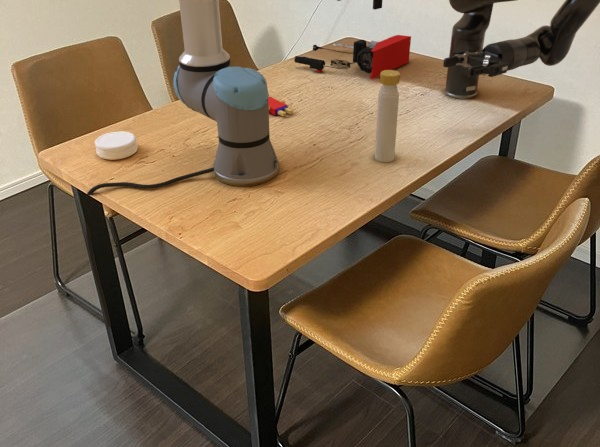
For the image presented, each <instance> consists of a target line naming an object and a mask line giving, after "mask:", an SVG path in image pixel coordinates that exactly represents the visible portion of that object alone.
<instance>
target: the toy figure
mask: <svg viewBox="0 0 600 447" xmlns="http://www.w3.org/2000/svg"><path fill="white" fill-rule="evenodd" d="M268 104H269V114H271V115H273V116H281V117H286V116H287V114H288V115H291V114H294V109H292V108H289V106H288V104H287V103H286V101H285V100H281V99H280V100H278V99H276V98H274V97H272V96H269V97H268Z"/></svg>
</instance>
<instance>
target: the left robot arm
mask: <svg viewBox="0 0 600 447" xmlns="http://www.w3.org/2000/svg"><path fill="white" fill-rule="evenodd" d="M336 1H337V2H340V1H341V0H336ZM178 3H179V12H180V20H181V30H182V31H181V32H182V38H183V47H184V51H183V52H182V53H181V54H180V56H179V57H178V62H179V63H178V64H179V65H178V66H177V69H176V70H175V72H174V73H173V74H174V75H173V90H174V92H175V95H176V97H177V98H178V100H179V101H180V102H181V103H182V104H183V105H185V106H186V107H187V108H188V109H190V110H191V111H193V112H196V113H199V114H200V115H202V116H204V117H206V118H209V119H210V120H212V121H215V122H216V126H217V135H218V145H217V149H216V153H215V159H214V162H213V164H212V167H210V168H206V169H202V170H198V171H195V172H191V173H187V174H184V175H181V176H177V177H175V178H174V177H173V178H171V179H168V180H166V181H162V182H158V183H152V184H142V183H136V182H129V181H119V182H103V183H99V184H96V185H94V186H92V187H91V188H90V189H89V190H88V191H87V192H86V196H92V195H93V194H94V193H95V192H96V191H98V190H100V189H103V188H118V187H119V188H120V187H130V188H135V189H142V190H143V189H144V190H150V189H158V188H162V187H165V186H169V185H172V184H174V183H178V182H181V181H185V180H188V179H190V178H194V177H198V176H202V175H205V174H209V173H210V174H211V173H213V176H214V177H215V179H217V181H219V182H220V183H223V184H225V185H228V186H229V185H230V186H234V187H251V186H252V187H253V186H257V185H261V184H265V183H267V182H269V181H271V180H273V179H274V178H275V177H276V176H277V175H278V174H279V171H280V166H279V164H280V163H279V159H278V156H277V154H276V151H275V149H274V146H273V144H272V142H271V138H270V136H271V135H270V134H271V133H270V113H269V104H268V97H270V94H269V89H268V83H267V79H266V77H265V76H264V75H263V74H262V73H261V72H260V71H258V70H256V69H253V68H250V67H242V66H231V55H230V54H229V53H228V52H227V51H226V50H225V49H224V48H223V37H222V26H221V14H220V13H221V11H220V0H178ZM382 8H383V0H372V10H374V11H375V10H380V9H382ZM85 233H86V243H87V248H88V254H89V258H90V263H91V267H92V271H93V274H94V279H95V282H96V286H97V290H98V294H99V298H100V301H101V305H102V308H103V312H104V317H105V322H106V326H107V328H110V327H112V324H111V319H110V318H111V317H110V314H109V309H108V305H107V302H106V298H105V297H106V296H105V294H104V290H103V286H102V282H101V279H100V275H99V271H98V267H97V263H96V258H95V254H94V248H93V243H92V235H91V226H90V225H89V224H87V222H85Z"/></svg>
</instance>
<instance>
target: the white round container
mask: <svg viewBox="0 0 600 447" xmlns="http://www.w3.org/2000/svg"><path fill="white" fill-rule="evenodd" d="M94 146H95V152H96V155H97V156H98V157H100V158H101V159H104V160H110V161H111V160H114V161H115V160H116V161H117V160H122V159H126V158H128V157H130V156H133V155H134V154H135V153H136V152H137V151H138V147H139V146H138V141H137V137H136V135H135V134H133V133H132V132H129V131H124V130H123V131H121V130H119V131H110V132H107V133H103V134H102V135H99V136H98V137H97V138H96V139H95V140H94Z"/></svg>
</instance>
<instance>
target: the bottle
mask: <svg viewBox="0 0 600 447" xmlns="http://www.w3.org/2000/svg"><path fill="white" fill-rule="evenodd" d="M399 101H400V92H399V90H398V87H397V85H391V86H389V85H383V84H381V86H380V89H379V91H378V94H377V110H376V112H377V114H376V130H375V145H374V146H375V147H374V148H375V149H374V159H375V160H376V161H378V162H380V163H390V162H392V161H394V160H395V154H396V140H397V128H398V115H399V114H398V113H399Z"/></svg>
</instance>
